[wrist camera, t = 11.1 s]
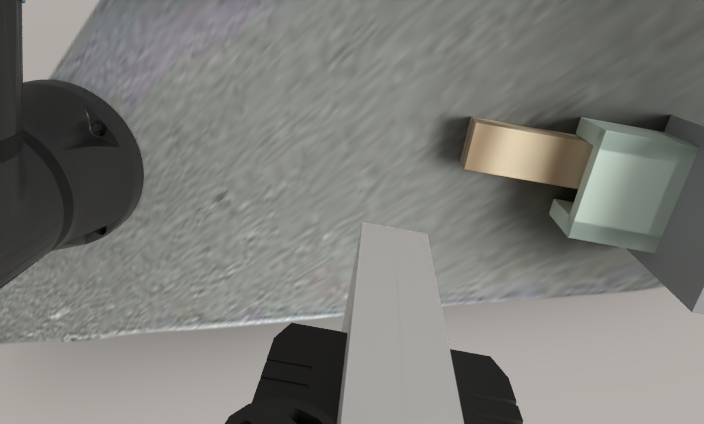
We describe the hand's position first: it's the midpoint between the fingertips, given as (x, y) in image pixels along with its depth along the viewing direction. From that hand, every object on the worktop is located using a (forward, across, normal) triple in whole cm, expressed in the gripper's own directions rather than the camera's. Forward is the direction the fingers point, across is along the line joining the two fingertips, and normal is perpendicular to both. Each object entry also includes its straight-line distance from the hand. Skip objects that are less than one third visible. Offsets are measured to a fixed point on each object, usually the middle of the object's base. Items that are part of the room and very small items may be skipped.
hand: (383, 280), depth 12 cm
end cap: (+34, +20, -4) cm, 40 cm away
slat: (+35, +15, -3) cm, 38 cm away
